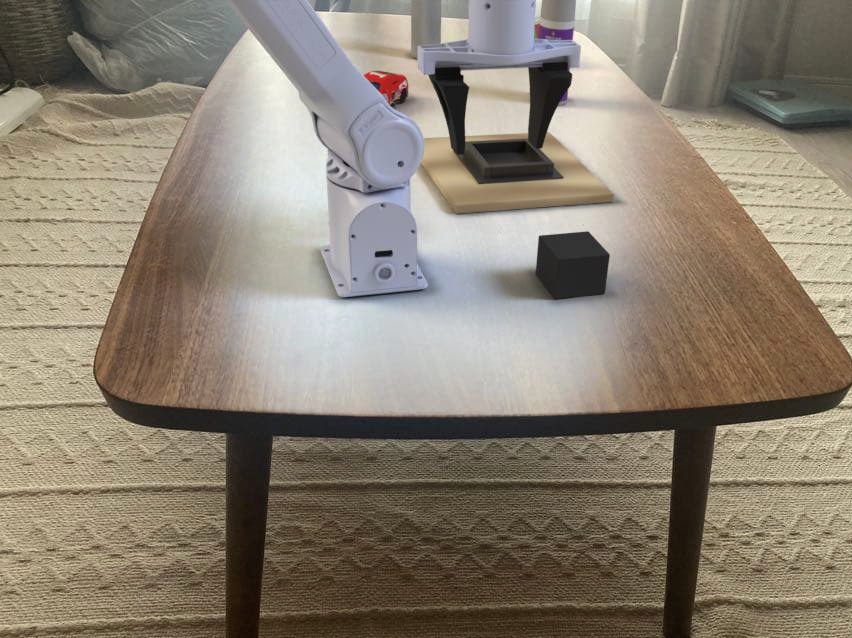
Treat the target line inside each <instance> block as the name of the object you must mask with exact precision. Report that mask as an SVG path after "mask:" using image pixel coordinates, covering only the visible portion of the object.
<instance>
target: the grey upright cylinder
mask: <svg viewBox="0 0 852 638" xmlns="http://www.w3.org/2000/svg"><path fill="white" fill-rule="evenodd" d="M442 1H443V0H410V22H411V23H410V32H411V33H410V44H411V45H410V54H411V57H412V58H413V59H416V60H418V51H417V46H422V45H434V44H441V43H442V3H443V2H442Z"/></svg>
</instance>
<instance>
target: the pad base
mask: <svg viewBox="0 0 852 638" xmlns="http://www.w3.org/2000/svg"><path fill="white" fill-rule="evenodd" d="M423 138H424V145H425V146H424V155H423V159H422V162H421V164H420V165H422V166H423V168H424V169H425V171H426V172H427V174H428V176H429V177H430V178H431V180H432V181H433V183H434V184H435V185H436V187H437V188H438V190H439V191H440V193H441V195H442V196H443V197H444V198H445V200H446V201H447V203H448V204H449V206H450V207H451V209H452V210H453V212H454V214H457V215H459V214H461V215H462V214H472V213H473V214H474V213H485V212H498V211H511V210H513V211H514V210H523V209H525V210H526V209H536V208H537V209H538V208H551V207H565V206H566V207H567V206H577V205H578V206H579V205H591V204H604V203H613V201H614V193H613V192H612V191H611V190H610V189H609V187H607V186H606V184H604V183H603V182H602V181H601V180H600V179H599V178H598V177H597V176H595V174H594V173H592V172H591V170H589V169H588V167H586V166H585V165H584V164H583V163H582V162H581V161H580V160H579V159H578V158H577V157H576V156H575V155H574V154H573V153H572V152H571V151H569V150H568V148H566V147H565V146H564V145H563V143H561V142H560V140H558V139H557V138H556V137H555V136H554V135H553V134H552V133H551V132H550V131H547V133H546V137H545V140H544V144H543V148H540V149H536V148H535V147H534V146H533V145H532V144H531V143H530V142H529V141H528V132H522V133H520V132H519V133H502V134H501V133H500V134H482V135H481V134H480V135H479V134H478V135H465V153H464V154H462V155H457V154H456V153H455V152H454V151H453V149H452V148H451V143H450V136H439V137H423Z"/></svg>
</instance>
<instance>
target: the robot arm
mask: <svg viewBox="0 0 852 638" xmlns="http://www.w3.org/2000/svg"><path fill="white" fill-rule="evenodd" d="M225 2H226V3H227V4H228V5H229V7H230V8H231V9H232V10H233V11H234V13H235V14H236V15H237V16H238V19H240V20H241V22H242V23H243V24H244V25H245V27H246V28H247V29H248V30H249V32H250V33H251V34H252V35H253V36H254V38H255V39H256V40H257V41H258V43H259V44H260V45H261V47H262V48H263V49H264V51H266V53H267V54H268V55H269V57H270V58H271V59H272V60H273V62H274V63H275V64H276V65H277V67H278V68H279V69H280V70H281V71H282V73H283V74H284V75H285V76H286V78H287V79H288V80H289V81H290V83H291V84H292V85H293V86H294V88H295V89H296V90H297V92H298V98H299V100H300V102H301V103H303V105H304V106H305V108H306V109H307V110H308V112H309V115H310V118H311V122H312V126H313V127H312V128H313V130H314V134H315V136H316V137H317V140H318V141H319V143H321V145H322V146H323V147H325V148H326V149H327V159H326V163H325V164H326V165H325V166H326V167H325V173H326V174H325V176H326V191H327V192H326V193H327V209H328V211H327V212H328V227H329V243H330V244H329V245H324V246H321V247H320V253H321V255H322V258H323V261H324V263H325V266H326V269H327V271H328V273H329V276H330V279H331V282H332V284H333V286H334V289H335V292H336V294H337V296H338V297H340V298H348V297H361V296H368V295H377V294H378V295H379V294H389V293H390V294H391V293H399V292H406V291H407V292H408V291H417V290H425V289H427V288H428V286H429V282H428V281H427V279H426V277H425V276H424V274H423V272H422V269H421V268H420V266H419V264H418V225H417V221H416V218H415V215H414V214H413V211H412V209H411V199H412V198H411V191H412V190H411V189H412V188H411V187H412V186H411V183H412V182H411V179H412V177H413V176H414V175H415V174H416V172H417V171H418V170H419V168H420V166H421V165H422V164H421V162H422V159H423V155H424V146H425V145H424V138H425V137H424V135H423V132H422V129H421V127H420V126H419V125H418V123H417V122H416V121H415V120H414V119H413V118H411V117H410V116H409V115H407V114H406V113H405V114H404V113H403V112H401V111H398V110H396V109H395V108H394V107H391V106H390V105H389V104H388V103H387V101H386V100H385V98H384V97H383V96H382V94H381V93H380V92H379V91H378V90H377V89H376V88H375V87H374V86H373V85H372V84H371V83H370V82H369V81H368V80H367V79H366V78H365V77H364V76H363V75H364V74H363V73H362V72H361V71H360V70H359V69H358V68H357V67H356V65H355V64H354V63H353V62H352V60H351V59H350V57H349V56H348V55H347V53H346V52H345V51H344V49H343V48H342V46H341V45H340V44H339V42H338V41H337V40H336V38H335V37H334V35H333V34H332V33H331V31H330V30H329V28H328V27H327V26H326V25H325V23H324V22H323V20H322V19H321V17H320V16H319V14H318V13H317V12H316V10H315V9H314V7H312V5H311V4H310V2H309V1H308V0H225ZM536 6H537V0H468V32H467V33H468V34H467V35H468V36H467V37H468V39H467V38H465V39H460V40H454V41H448V42H447V41H446V42H441V44H434V45H422V46H417V51H418V59H417V69H418V71H420V73H422V74H423V75H424V76H428V79H429V80H430V83H431V84H432V87H433V89H434V92H435V93H436V96H437V99H438V101H439V103H440V106H441V109H442V112H443V116H444V119H445V123H446V126H447V130H448V135H449V136H448V137H450V143H451V148H452V149H453V151H454V152H455V153H456V154H457V155H462V154H464V153H465V136H466V112H467V104H468V98H469V97H468V96H469V90H470V86H469V85H468V84H467V83H466V82H465V81H464V79H465V78H464V77H465V75H464V74H462V71H483V70H484V71H485V70H502V69H504V70H505V69H506V70H507V69H523V68H524V69H525V68H527V69H528V81H529V113H528V126H527V133H528V141H529V142H530V143H531V144H532V145H533V146H534V147H535V148H536V149H540V148H543V144H544V140H545V137H546V133H547V132H548V130H549V127H550V124H551V122H552V120H553V117H554V115H555V112H556V111H557V108H558V105H559V103H560V101H561V99H562V98H563V96H564V94H565V93H566V91H567V90H568V91H569V89H570V87H571V85H572V81H573V73H572V72H571V71H570V72H569V71H568V70H567V69H568V68H570V69H576V68H577V69H578V68H580V63H581V62H580V61H581V51H582V46H581V45H580V44H579V43H578V42H576V41H575V40H574V39H573V40H548V39H534V28H535V25H536V23H535V22H536V10H537V9H536V8H537V7H536ZM559 106H560V105H559Z"/></svg>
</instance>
